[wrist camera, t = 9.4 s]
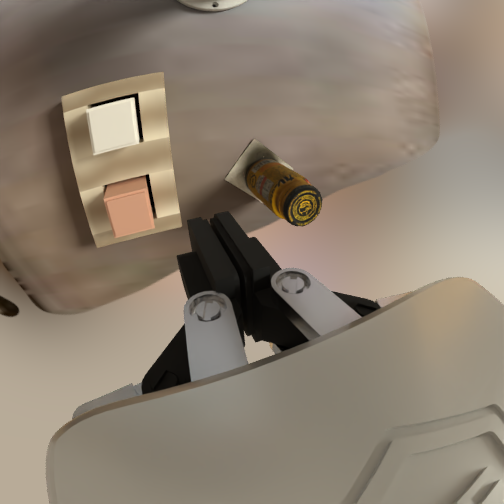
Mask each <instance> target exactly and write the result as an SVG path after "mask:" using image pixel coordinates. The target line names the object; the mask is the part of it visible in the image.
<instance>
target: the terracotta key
mask: <svg viewBox="0 0 504 504" xmlns="http://www.w3.org/2000/svg"><path fill="white" fill-rule="evenodd" d="M104 203H105V207H106V210H107V214H108V218H109V221H110V224H111V228H112V231H113V235H114V238H118V237H122V236H126V235H130V234H133V233H137V232H141V231H145V230H149V229H153V228H155V225H154V219H153V213H152V207H151V202H150V197H149V192H148V187H147V181H146V176H145V175H143V176H138V177H134V178H130V179H126V180H122V181H118V182H114V183H111V184H108V185H107V189H106V192H105V195H104Z"/></svg>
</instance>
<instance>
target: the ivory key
mask: <svg viewBox="0 0 504 504" xmlns="http://www.w3.org/2000/svg"><path fill="white" fill-rule="evenodd" d="M86 113H87V120H88V126H89V133H90V139H91V144H92V150H93V155H97V154H100V153H104V152H108V151H111V150H115V149H119V148H123V147H127V146H132V145H136V144H139V130H138V123H137V114H136V105H135V98H129V99H125V100H120V101H116V102H112V103H108V104H104V105H100V106H97V107H93V108H90V109H86Z"/></svg>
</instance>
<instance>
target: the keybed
mask: <svg viewBox="0 0 504 504" xmlns="http://www.w3.org/2000/svg"><path fill="white" fill-rule="evenodd" d="M133 94H138V95H139V105H140V114H141V123H142V131H143V138H139V144H136V145H132V146H127V147H123V148H119V149H115V150H111V151H108V152H104V153H100V154H97V155H93V150H92V144H91V139H90V133H89V126H88V120H87V113H86V109H90V108H93V104H96V103H100V102H104V101H107V100H111V99H115V98H119V97H124V96H128V95H133ZM62 106H63V114H64V121H65V127H66V133H67V139H68V144H69V149H70V154H71V159H72V163H73V168H74V172H75V176H76V180H77V184H78V188H79V192H80V196H81V199H82V203H83V206H84V210H85V213H86V216H87V219H88V223H89V226H90V229H91V232H92V235H93V238H94V241H95V244H96V246H97V248H99V247H103V246H107V245H110V244H114V243H118V242H122V241H126V240H129V239H133V238H137V237H141V236H145V235H149V234H153V233H157V232H161V231H166V230H170V229H174V228H178V227H182V222H181V217H180V211H179V204H178V198H177V191H176V185H175V178H174V171H173V163H172V156H171V147H170V139H169V130H168V121H167V110H166V99H165V87H164V73H163V72H159V73H153V74H147V75H141V76H136V77H131V78H126V79H122V80H118V81H113V82H109V83H105V84H101V85H98V86H94V87H91V88H87V89H84V90H81V91H77V92H74V93H71V94H68V95H65V96H63V97H62ZM147 174H149V177H150V183H151V188H152V194H153V199H154V204H155V207H152V213H153V219H154V225H155V228H153V229H149V230H145V231H141V232H137V233H133V234H130V235H126V236H122V237H118V238H114V235H113V231H112V228H111V224H110V221H109V218H108V214H107V210H106V207H105V203H104V195H105V192H106V189H107V184H111V183H114V182H118V181H122V180H126V179H130V178H134V177H138V176H143V175H147Z"/></svg>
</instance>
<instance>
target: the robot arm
mask: <svg viewBox="0 0 504 504" xmlns="http://www.w3.org/2000/svg"><path fill="white" fill-rule="evenodd" d="M178 1H179V2H180V3H182V4H184V5H186V6H188V7H191V8H194V9H197V10H202V11H225V10H228V9H232V8H235V7H237V6H240V5H241V4H243V3H245V2H246V1H247V0H178ZM212 5H214V6H215V7H213V6H212ZM187 223H188V230H189V236H190V241H191V247H192V252H189V253H185V254H181V255H177V260H178V265H179V269H180V273H181V277H182V281H183V285H184V288H185V292H186V295H187V298H188V301H187V302H186V304H185V306H184V320H185V324H184V325H183V326H182V328H181V329H180V330H179V332H178V333H177V334H176V336H175V337H174V338H173V339H172V341H171V342H170V343H169V345H168V346H167V347H166V349H165V350H164V351H163V352H162V354H161V355H160V356H159V358H158V359H157V360H156V362H155V363H154V364H153V365H152V367H151V368H150V369H149V371H148V372H147V374H146V375H145V377H144V379H143V380H142V382H141V383H139V384H137V385H135V386H133V384H129V385H127V386H125V387H122V388H120V389H118V390H115V391H113V392H111V393H109V394H106V395H104V396H101V397H99V398H97V399H94V400H92V401H89V402H87V403H85V404H82V405H81V406H79V407H78V408H77V409H76V411H75V412H74V414H73V418H72V420H71V421H69V422H68V423H66V424H65V425H64V426H62V427H61V428H60V429H59V430H58V431H57V432H56V433H55V434H54V436H53V437H52V438H51V440H50V443H49V445H48V449H47V456H46V481H47V492H48V497H49V503H50V504H504V305H503V304H502V303H501V302H500V301H499V300H498V299H497V298H495V297H494V296H493V295H492V294H491V293H490V292H489V291H487V290H486V289H485V288H484V287H482V286H481V285H480V284H478V283H477V282H475V281H474V280H472V279H469V278H464V277H453V278H446V279H442V280H439V281H436V282H433V283H430V284H428V285H426V286H424V287H421V288H420V289H417V290H415V291H413V292H407V293H403V294H399V295H394V296H390V297H385V298H381V299H376V301H375V302H373V301H371V300H368V299H365V298H360V297H355V296H351V295H347V294H342V293H338V292H333V291H330V290H329V289H328V288H326V287H325V286H324V285H323V284H322V283H320V282H319V281H318V280H317V279H316V278H315V277H313V276H312V275H311V274H309V273H308V272H306V271H304V270H301V269H297V268H286V269H283V270H282V269H281V268H280V267H279V265H278V264H277V263H276V262H275V260H274V259H273V258H272V257H271V256H270V254H269V253H268V252H267V251H266V249H265V248H264V247H263V246H262V244H261V243H260V242H259V241H258V240H257V238H255V237H252V238H249V237H248V236H247V235H246V234H245V232H244V231H243V230H242V228H241V227H240V226H239V224H238V223H237V222H236V221H235V219H234V218H233V217H232V215H231V214H230V213H229V212H228V211H227V212H222V213H217V214H215V215H214V218H211V219H210V224H209V222H208V221H207V219H206V220H202V218H201V217H199V218H195V219H190V220H187ZM210 225H211V226H210ZM244 331H245V333H246V335H247V336H250V335H252V337H253V339H254V340H255V342H258V341H261V340H263V341H266V342H269V343H270V347H271V349H272V350H273V351H274V353H275V355H272V356H270V357H267V358H264V359H261V360H259V361H256V362H253V363H250V364H248V361H247V357H246V354H245V350H244V347H245V340H244Z"/></svg>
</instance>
